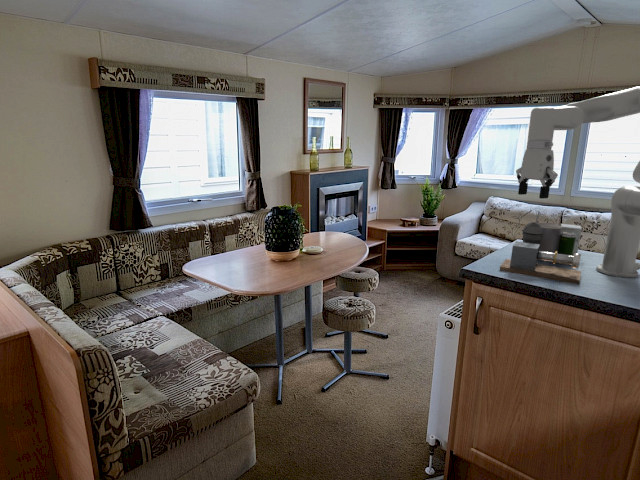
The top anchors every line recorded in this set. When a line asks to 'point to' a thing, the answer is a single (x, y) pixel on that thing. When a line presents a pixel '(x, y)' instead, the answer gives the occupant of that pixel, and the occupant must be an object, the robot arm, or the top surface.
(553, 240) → the pillar candle
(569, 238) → the beer can
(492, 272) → the top surface
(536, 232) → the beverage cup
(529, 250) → the machine model
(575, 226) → the supplement box
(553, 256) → the shaft
